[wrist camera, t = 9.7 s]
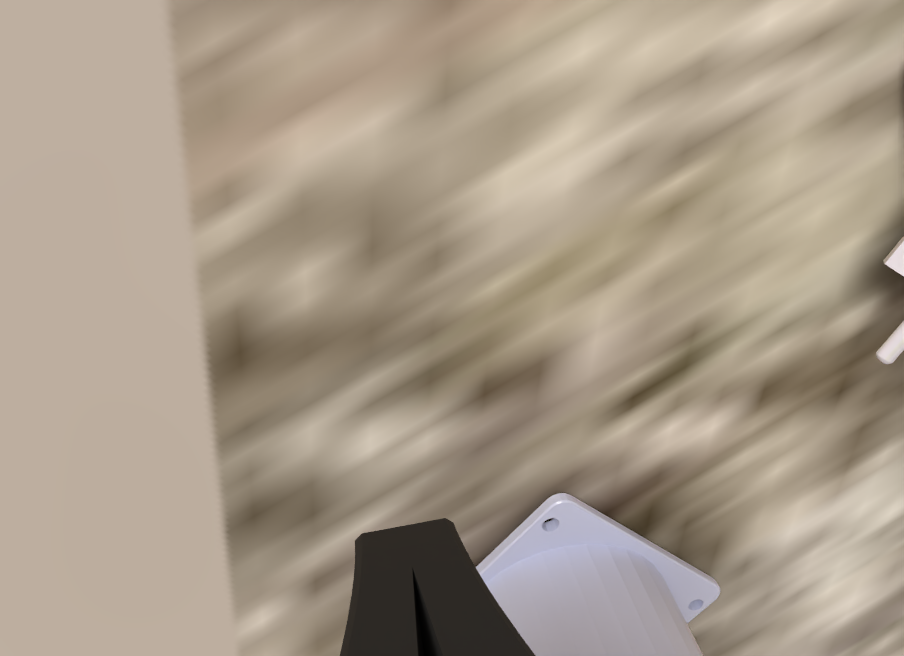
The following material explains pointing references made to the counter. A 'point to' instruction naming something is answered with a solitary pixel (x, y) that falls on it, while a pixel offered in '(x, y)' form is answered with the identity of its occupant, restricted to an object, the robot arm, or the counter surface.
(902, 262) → the charger
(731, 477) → the counter surface
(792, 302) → the counter surface
